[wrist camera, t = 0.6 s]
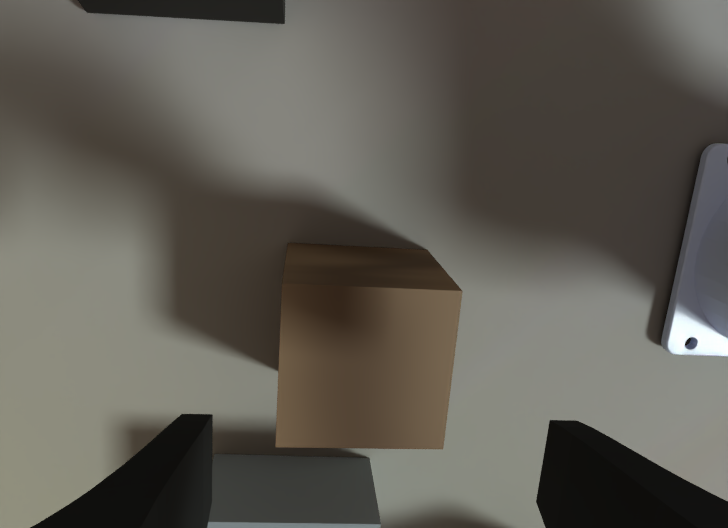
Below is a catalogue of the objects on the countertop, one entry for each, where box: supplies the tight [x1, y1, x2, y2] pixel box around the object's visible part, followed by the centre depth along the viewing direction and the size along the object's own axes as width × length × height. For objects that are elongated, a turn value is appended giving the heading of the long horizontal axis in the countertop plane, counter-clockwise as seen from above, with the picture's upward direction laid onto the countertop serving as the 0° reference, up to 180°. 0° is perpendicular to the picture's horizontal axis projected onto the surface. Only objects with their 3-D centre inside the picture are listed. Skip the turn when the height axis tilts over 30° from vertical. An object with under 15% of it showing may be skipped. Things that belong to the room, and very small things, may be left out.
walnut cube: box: [276, 243, 462, 449], centre depth 19 cm, size 5×5×5 cm
